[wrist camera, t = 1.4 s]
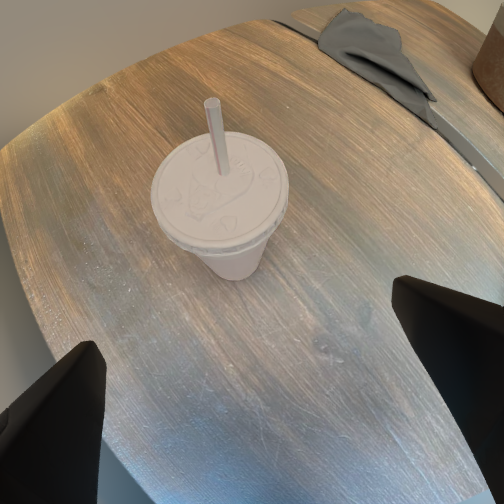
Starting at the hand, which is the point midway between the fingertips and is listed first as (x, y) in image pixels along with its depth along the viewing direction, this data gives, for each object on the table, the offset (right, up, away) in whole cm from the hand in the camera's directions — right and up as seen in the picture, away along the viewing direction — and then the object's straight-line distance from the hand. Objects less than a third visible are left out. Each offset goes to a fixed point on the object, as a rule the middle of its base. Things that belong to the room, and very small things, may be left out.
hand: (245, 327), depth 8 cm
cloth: (+15, +27, +23) cm, 39 cm away
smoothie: (-1, +2, +14) cm, 15 cm away
